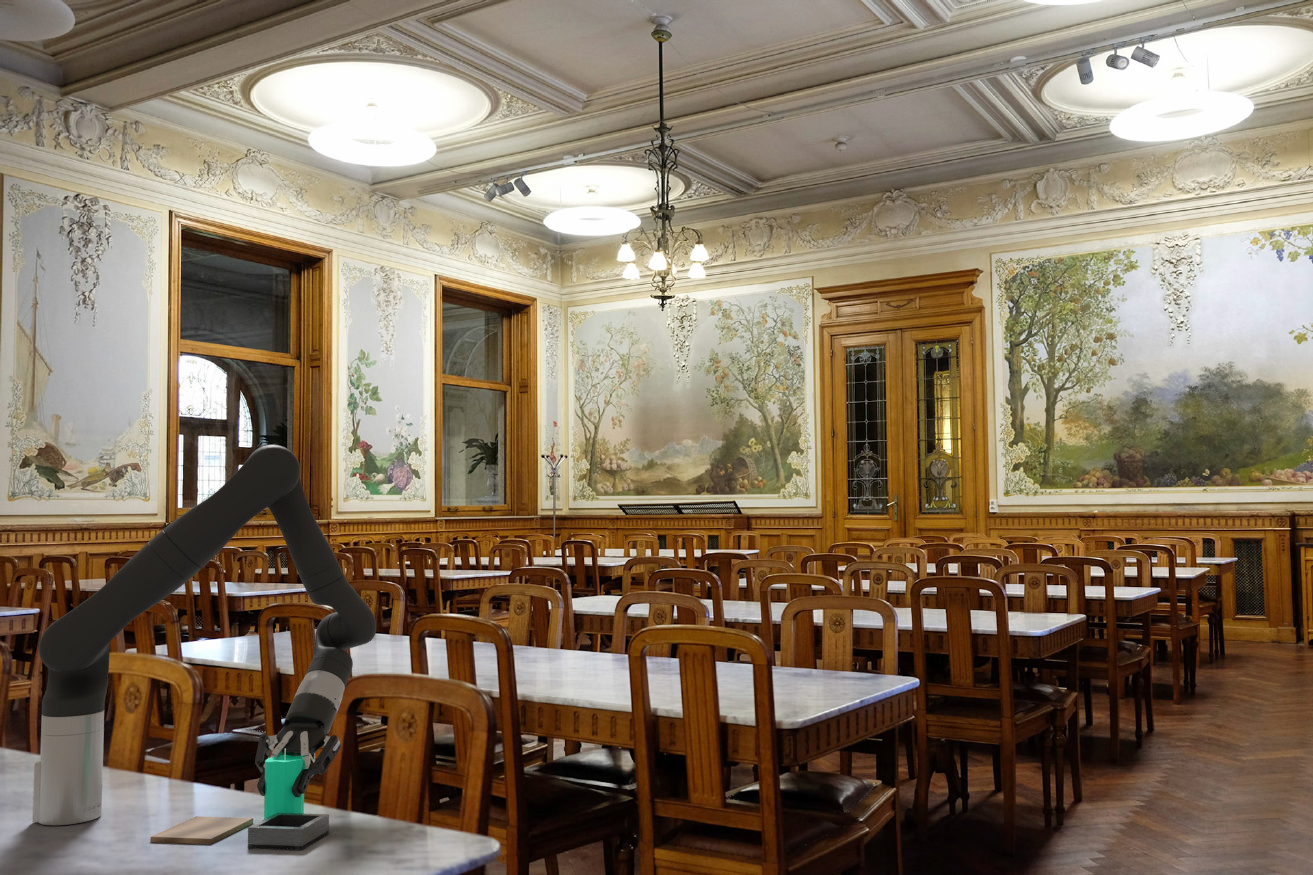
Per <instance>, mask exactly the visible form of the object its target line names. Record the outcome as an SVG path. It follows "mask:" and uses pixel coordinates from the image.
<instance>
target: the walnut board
mask: <svg viewBox="0 0 1313 875" xmlns="http://www.w3.org/2000/svg"><path fill="white" fill-rule="evenodd" d="M252 825H254V817H228V816H227V817H225V816H199V815H197V816H194V817H192V818H189V819H188V820H187V819H186V820H185V821H183V822H180V823H178V824H175V825H173V826H172V827H169V828H167V829H165V830H163V831H159V832H158V833H156V834H154V835H152V836H150V838H149V840H150V843H163V844H164V843H165V844H166V843H167V844H188V845H189V844H194V845H213V844H214V843H217V842H219V841H220V840H223V839H225V838H226V837H228V836H231V835H233V834H235V833H237V832H239V831H240V830H243V829H244V828H248V827H250V826H252Z"/></svg>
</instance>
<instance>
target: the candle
mask: <svg viewBox="0 0 1313 875" xmlns="http://www.w3.org/2000/svg"><path fill="white" fill-rule="evenodd" d="M270 757H271V756H270ZM303 762H304V759H302V757H301V756H290V755H286V748H285V755H283V754H281V756H280V757H279V758H278V759H276V757H271V758H268V759H267V760H266V761H265V796H263V797H264V799H263V800H264V802H263V803H264V804H263V806H264V807H263V820H264V819H266V818H268V817H270V816H272V815H274V814H276V813H302V814H305V813H304V812H305V793H304V794H301V797H295V796H294V795H293V793H292V787H293V785H294V782H295V780H296V778H297V777H298V775H299V774H300V772H301V770H303V768H302V767H303Z"/></svg>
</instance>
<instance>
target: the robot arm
mask: <svg viewBox="0 0 1313 875" xmlns="http://www.w3.org/2000/svg"><path fill="white" fill-rule="evenodd" d="M305 494H306V493H305V492H304V488H303V484H302V480H301V465H300V462H299V459H298V457H296V455H295V453H293V452H292V451H291V450H289V448H286V447H285V446H282V445H278V444H266V445H262V446H260V447H258V448H257V449H255V450H254V451H253V452H252V453H251V454H250V455H249V457H248V458H247V460H246V461H245V462H244V463H243V464H242V466H240V468H238V470H237V471H236V472H235V473H234V474H233V475H232V476H231V477H230V478H229V479H228V480H227V481H226V482H225V483H224V484H223V485H222V486H221V487H220V488H219V489H218V490H216V491H215V492H214V493H213V494H212V495H210V496H209V497H208V498H206V499H205V500H203V501H201V502H200V503H199V504H197V505H195V506H193V507H192V508H191V509H189V510H188V511H185V513H183V514H182V515H180V516H178V517H177V518H176V519H175V520H173V521H172V522H171V523H170V524H167V526H165V527H164V528H163V529H161V531H160V532H158V533H157V534H156V535H155V536H154V537H153V538H151V539H150V540H149V541H148V542H146V543H145V545H144V546H143V547H142V548H140V549H139V550H138V551H137V552H136V553H135V554H134V555H133V556H132V557H131V558H130V559H129V560H128V561H127V562H125V564H124V565H123V566H122V567H121V568H120V569H119V570H118V571H117V572H115V574H114V575H113V576H112V577H111V578H110V579H109V580H108V581H107V582H106V583H105V584H104V585H103V586H101V588H100V589H98V590H97V591H96V592H95V593H94V594H92V595H91V596H90V597H88V598H87V599H86V600H84V601H83V602H82V603H80V604H79V605H77V606H76V607H75V608H73V609H72V610H70V611H69V612H67V613H66V614H64V615H63V616H61V617H59V618H58V619H57V620H55V621H54V622H52V623H51V624H49V626H47V628H46V629H45V630H44V632H43V633H42V635H41V638H40V640H39V646H38V655H39V658H40V660H41V662H42V664H44V665H45V667H47V668H48V672H47V673H48V674H47V684H46V690H45V693H44V695H43V698H42V701H41V725H40V726H41V728H40V729H41V730H40V731H41V732H40V753H39V754H40V758H39V759H40V760H38V761H36V762H35V763H34V765H33V768H34V769H33V791H32V793H33V796H32V820H31V822H32V823H38V824H40V825H44V826H62V825H63V826H65V825H66V826H67V825H75V824H79V823H85V822H89V821H92V820H95V819H98V818H99V817H101V816H102V808H103V807H102V806H103V805H102V801H103V799H102V798H103V774H104V773H103V770H104V739H105V738H104V735H105V734H104V732H105V726H104V725H105V706H106V704H105V703H106V696H107V692H108V687H109V673H110V672H109V671H110V670H109V669H110V651H111V650H110V649H111V648H110V647H111V644H110V643H111V642H112V641H113V640H114V638H115V637H116V636H117V635H118V634H119V633H121V631H122V630H123V629H125V627H127V625H129V624H130V623H131V622H132V621H134V620H135V619H136V618H137V617H139V616H140V615H141V614H144V612H146V611H148V610H150V609H151V608H152V607H154V606H156V605H157V604H159V603H160V602H162V601H163V600H164V599H166V598H168V597H169V596H170V595H171V594H173V593H174V592H176V591H177V590H179V588H181V587H182V586H183V585H185V584H186V583H188V582H189V580H191V578H193V577H194V576H195V575H197V574H198V572H200V571H201V570H202V569H203V568H205V566H207V565H208V563H209V562H210V561H212V560H213V559H214V557H216V555H218V554H219V552H220V551H221V550H222V549H223V548H224V547H225V546H226V545H228V543H229V542H230V541H231V540H232V539H233V538H234V536H235V535H236V534H237V533H238V532H239V531H240V530H241V529H243V527H244V526H245V525H246V524H248V522H249V521H251V520H252V519H253V518H254V517H256V516H257V515H258V514H260V513H261V512H262V511H264V510H265V509H266V508H268V510H269V511H270V513H271V514H272V517H273V518H274V520H275V522H276V524H277V526H278V529H279V530H280V532H281V534H282V537H283V539H284V541H285V544H286V547H287V549H288V552H289V554H290V557H291V559H292V562H293V564H294V567H295V569H296V572H297V574H298V577H299V578H300V581H301V583H302V584H303V586H304V587H303V588H304V589H305V592H306V593H307V595H308V597H309V599H310V600H311V602H312V603H313V604H314V605H317V606H329V607H331V608H332V609H333V610H335V612H332V613H330V614H327V615H326V616H325V617H323V618H322V620H320V622H319V624H318V625H317V627H316V630H315V637H314V644H313V654H312V660H311V662H310V664H309V667H308V669H307V670H306V673H305V675H304V678H303V679H302V681H301V682H300V684H299V686H298V688H297V691H296V693H295V695H294V697H293V700H292V702H291V704H290V707H289V709H288V711H287V714H286V716H285V718H284V722H283V723H284V724H283V727H282V728H281V729H280V730H279V731H278V732H277V734H274V735H268V734H267V733H262V734H261V735H259V739H258V744H257V750H256V754H255V759H254V764H255V765H256V767H257V769H258V770H259V773H261V775H260V777H259V779H258V781H257V784H256V788H257V792H259V794H260V796H262V797H264V796H265V761H266V760H267V759H268V758H271V757H276V759H278V758H279V757H280V756H281V755H285V748H286V755H290V756H301V757H302V759H304V762H303V767H302V768H303V770H301V772H300V774H299V775H298V777H297V778H296V780H295V782H294V785H293V787H292V793H293V795H294V796H295V797H301V794H304V795H305V792H306V791H307V788H308V785H309V783H310V781H311V778H313V776H315V775H317V774H319V775H324V774H325V773H326V772H327V770H328V768H329V767H330V765H331V764H332V762H333V761H334V760H335V757H336V756H337V755H338V753H339V751H340V750H341V748H342V744H341V741H340V739H339V737H338V736H337V735H336V734H332V735H331V736H328V735H329V733H330V731H331V728H332V726H333V723H334V721H335V718H336V717H337V713H338V711H339V709H340V707H341V703H342V700H343V696H344V692H345V689H346V687H347V683H348V681H349V678H350V677H351V674H352V671H353V667H354V662H353V658H352V656H351V654H350V653H348V652H347V650H350V649H352V648H355V647H356V648H357V647H359V646H363V645H365V644H368V643H370V642H371V641H372V640H373V639H374V638H375V635H376V633H377V620H376V617H375V615H374V613H373V611H372V609H371V607H369V605H368V604H367V603H366V601H364V599H363V598H362V597H361V596H360V594H358V592H357V591H356V590H355V588H354V587H353V586H352V585H351V584H350V583H349V582H348V580H347V579H346V578H347V577H346V576H345V574H344V572H343V571H344V570H342V567H341V565H340V563H339V561H338V558H337V557H336V554H335V553H334V551H333V549H332V547H331V545H330V543H329V541H328V540H327V538H326V537H325V534H324V532H323V531H322V529H321V528H320V525H319V524H318V522H317V520H316V518H315V516H314V514H313V511H312V510H311V506H310V504H309V502H308V500H307V497H306V495H305ZM276 744H277V745H276ZM275 745H276V746H275ZM274 747H275V748H274ZM321 748H322V749H321ZM320 749H321V751H320V753H319V755H317V757H316V752H318V750H320Z"/></svg>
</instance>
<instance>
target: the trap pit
mask: <svg viewBox="0 0 1313 875" xmlns="http://www.w3.org/2000/svg"><path fill="white" fill-rule="evenodd" d="M329 834H330V814H328V813H327V814H326V813H304V814H302V813H276V814H274V815H272V816H270V817H268V818H266V819H264V818H263V819H262V820H260V821H258V822H256V823H253V824H251V825H249V826H247V849H256V850H258V849H260V850H285V851H287V850H289V851H303V850H305V849H307V848H308V847H309V846H311V845H313V844H315V843H317V842H319V841H320V840H322V839H323V838H325V837H327V836H329Z"/></svg>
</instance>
